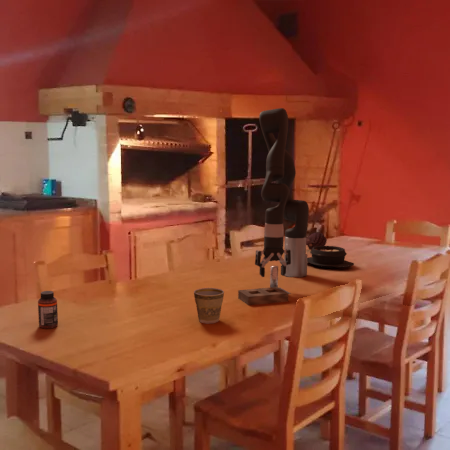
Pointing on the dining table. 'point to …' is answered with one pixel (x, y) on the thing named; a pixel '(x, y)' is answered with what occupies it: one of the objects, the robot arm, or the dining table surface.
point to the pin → (273, 276)
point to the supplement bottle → (47, 310)
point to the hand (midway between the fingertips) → (272, 275)
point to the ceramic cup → (208, 304)
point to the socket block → (263, 295)
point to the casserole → (328, 257)
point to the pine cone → (315, 240)
